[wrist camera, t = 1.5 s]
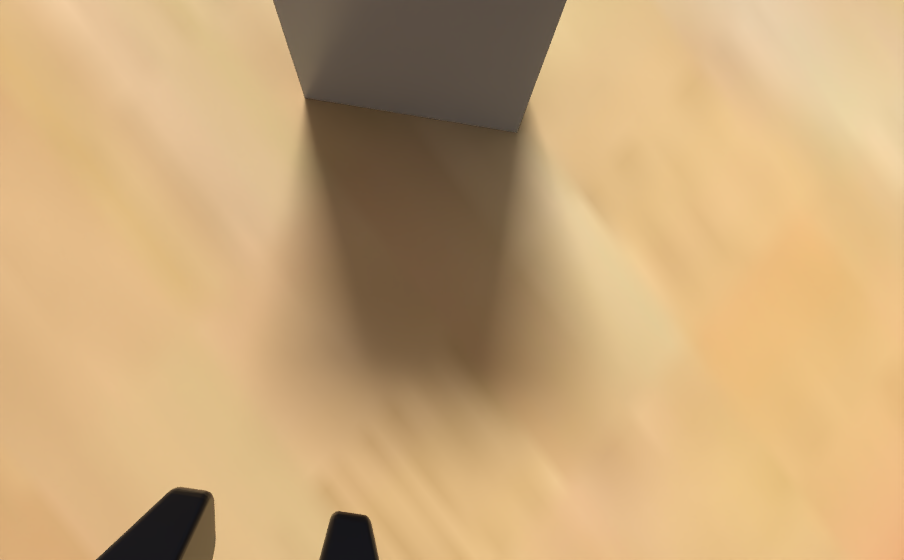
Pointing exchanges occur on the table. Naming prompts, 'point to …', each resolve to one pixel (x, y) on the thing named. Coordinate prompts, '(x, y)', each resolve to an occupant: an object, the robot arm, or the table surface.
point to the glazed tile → (422, 55)
